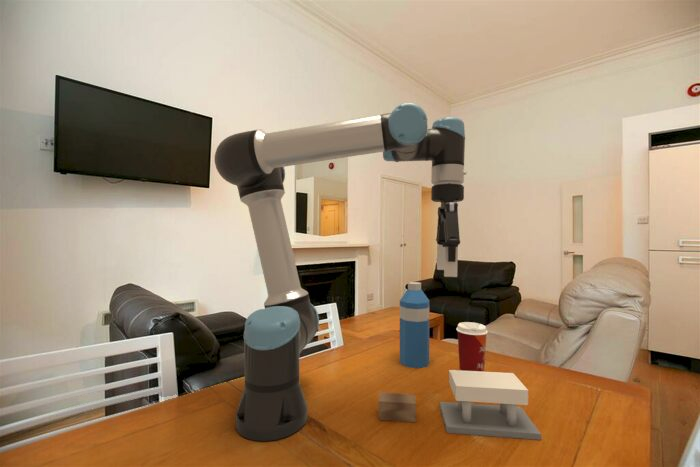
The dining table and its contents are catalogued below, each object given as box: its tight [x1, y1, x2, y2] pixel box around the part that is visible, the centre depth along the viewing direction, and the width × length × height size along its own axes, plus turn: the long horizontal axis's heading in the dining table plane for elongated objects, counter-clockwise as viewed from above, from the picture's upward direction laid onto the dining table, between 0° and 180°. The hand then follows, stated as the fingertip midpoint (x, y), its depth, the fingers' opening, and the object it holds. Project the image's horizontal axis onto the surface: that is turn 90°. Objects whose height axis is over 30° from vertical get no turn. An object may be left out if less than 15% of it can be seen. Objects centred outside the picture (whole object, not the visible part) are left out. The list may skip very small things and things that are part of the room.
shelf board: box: [448, 369, 529, 406], centre depth 70 cm, size 14×8×3 cm, turn 83°
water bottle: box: [399, 281, 430, 369], centre depth 102 cm, size 9×9×25 cm
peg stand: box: [439, 401, 542, 441], centre depth 70 cm, size 18×10×6 cm, turn 83°
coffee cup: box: [455, 321, 488, 372], centre depth 91 cm, size 8×8×15 cm
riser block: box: [378, 391, 417, 423], centre depth 72 cm, size 8×4×4 cm, turn 83°
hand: (446, 273), depth 78 cm, fingers open, 13 cm apart
